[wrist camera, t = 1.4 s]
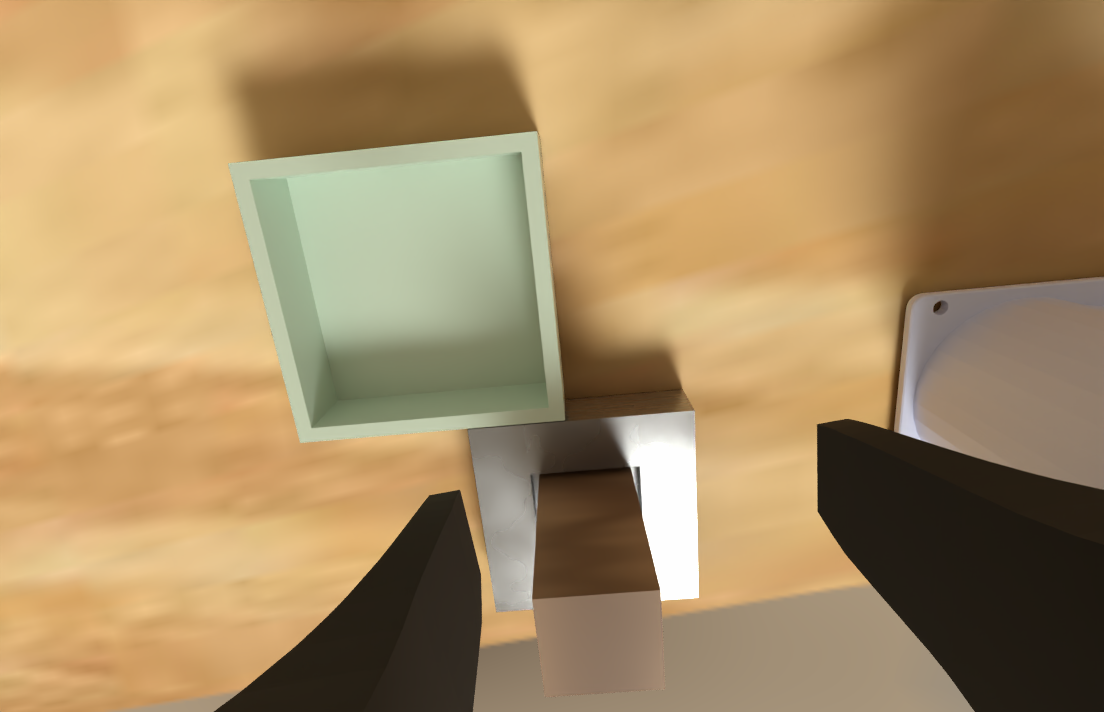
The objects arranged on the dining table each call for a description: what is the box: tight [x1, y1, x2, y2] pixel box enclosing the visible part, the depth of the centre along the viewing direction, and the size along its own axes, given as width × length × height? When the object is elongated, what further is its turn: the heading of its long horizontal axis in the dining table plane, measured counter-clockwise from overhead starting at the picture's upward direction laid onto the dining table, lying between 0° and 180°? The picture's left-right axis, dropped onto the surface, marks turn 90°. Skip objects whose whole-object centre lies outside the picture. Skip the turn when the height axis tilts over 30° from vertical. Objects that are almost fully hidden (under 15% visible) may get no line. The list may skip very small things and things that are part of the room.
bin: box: [228, 131, 565, 443], centre depth 19 cm, size 9×9×3 cm
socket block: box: [468, 389, 699, 612], centre depth 22 cm, size 8×8×2 cm
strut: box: [532, 467, 665, 697], centre depth 19 cm, size 3×3×7 cm
